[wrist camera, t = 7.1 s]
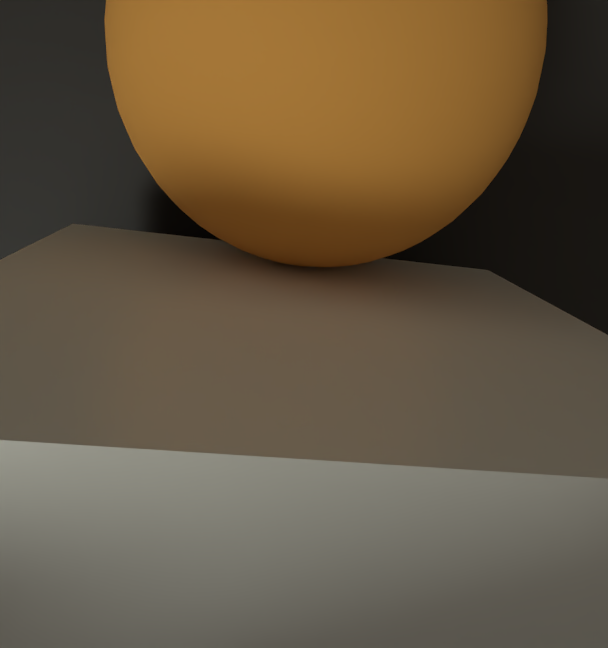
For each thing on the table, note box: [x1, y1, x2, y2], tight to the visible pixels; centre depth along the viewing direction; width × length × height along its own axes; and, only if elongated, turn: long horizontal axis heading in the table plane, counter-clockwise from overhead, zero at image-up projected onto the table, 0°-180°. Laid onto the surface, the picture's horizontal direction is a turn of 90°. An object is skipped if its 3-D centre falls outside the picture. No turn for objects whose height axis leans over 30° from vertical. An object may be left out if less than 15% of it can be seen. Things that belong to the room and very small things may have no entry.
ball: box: [105, 0, 547, 267], centre depth 7 cm, size 5×5×5 cm
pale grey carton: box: [0, 224, 608, 648], centre depth 7 cm, size 6×8×6 cm
